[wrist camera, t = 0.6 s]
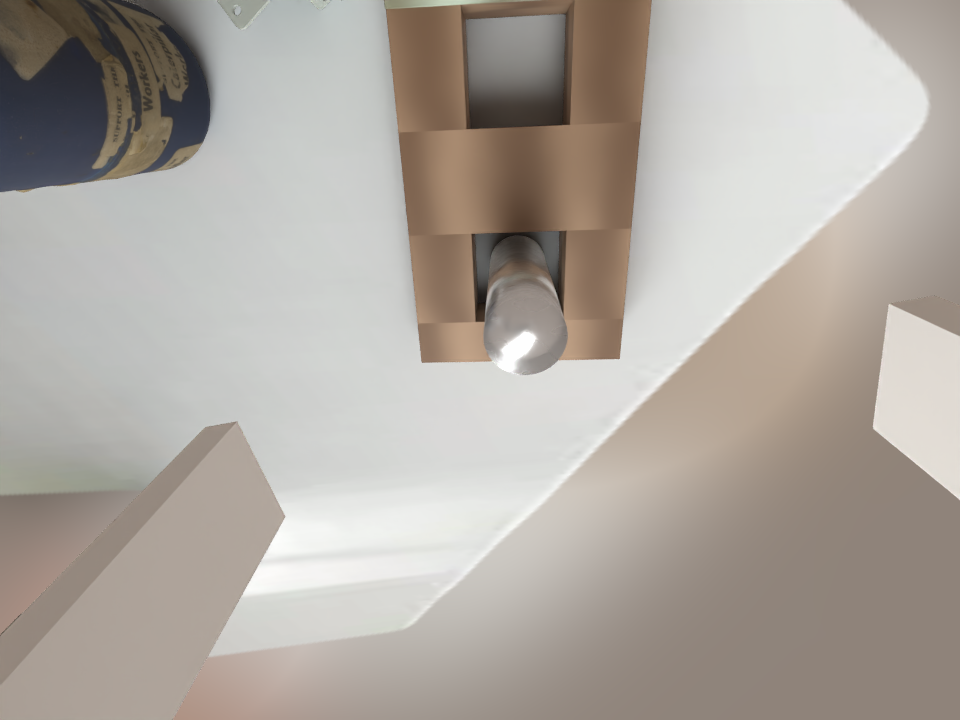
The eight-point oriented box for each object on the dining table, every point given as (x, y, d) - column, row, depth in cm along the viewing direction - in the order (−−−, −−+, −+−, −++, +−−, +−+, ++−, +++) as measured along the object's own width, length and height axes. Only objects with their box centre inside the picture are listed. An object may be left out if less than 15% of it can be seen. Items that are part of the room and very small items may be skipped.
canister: (250, 126, 33) (4, 128, 17) (146, 195, 35) (-159, 256, 19) (148, -31, 29) (-289, -222, 13) (40, 56, 32) (-447, -16, 15)
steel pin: (490, 290, 37) (484, 375, 24) (489, 236, 35) (481, 298, 23) (544, 288, 37) (566, 374, 24) (545, 234, 35) (569, 295, 22)
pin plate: (429, 340, 39) (421, 364, 35) (394, -39, 29) (377, -65, 25) (608, 336, 38) (620, 360, 34) (638, -55, 28) (660, -83, 24)
